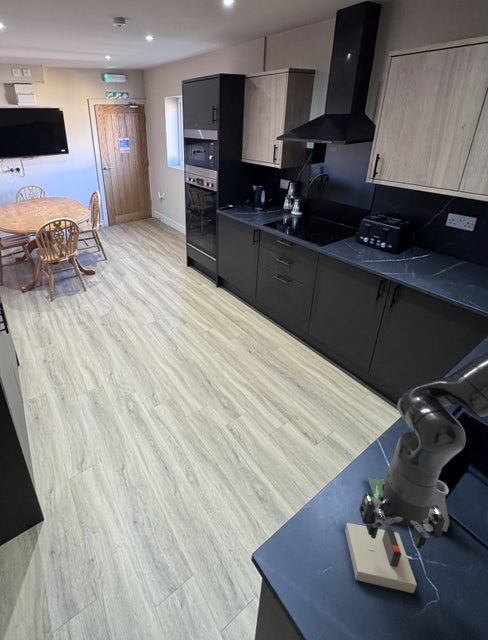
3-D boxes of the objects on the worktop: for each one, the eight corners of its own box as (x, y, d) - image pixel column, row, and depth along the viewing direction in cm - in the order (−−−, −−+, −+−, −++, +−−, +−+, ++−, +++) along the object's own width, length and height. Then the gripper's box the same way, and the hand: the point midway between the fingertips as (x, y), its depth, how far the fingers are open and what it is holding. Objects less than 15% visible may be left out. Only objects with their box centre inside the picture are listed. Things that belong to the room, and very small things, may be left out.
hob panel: (400, 542, 74) (403, 533, 73) (418, 594, 65) (422, 585, 64) (344, 530, 76) (346, 521, 75) (355, 580, 68) (358, 570, 67)
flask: (412, 493, 84) (420, 465, 80) (447, 508, 80) (457, 480, 77) (414, 520, 78) (423, 492, 75) (451, 538, 74) (462, 509, 71)
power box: (399, 489, 85) (403, 478, 83) (413, 524, 77) (417, 513, 76) (367, 483, 86) (369, 473, 85) (377, 517, 79) (380, 506, 77)
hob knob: (382, 539, 72) (385, 526, 70) (388, 541, 72) (392, 527, 70) (389, 565, 68) (394, 551, 66) (397, 567, 67) (401, 553, 66)
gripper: (376, 497, 60) (362, 551, 66) (463, 513, 58) (441, 569, 63) (364, 459, 67) (352, 511, 73) (440, 472, 65) (422, 525, 70)
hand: (393, 538), depth 68 cm, fingers open, 8 cm apart
